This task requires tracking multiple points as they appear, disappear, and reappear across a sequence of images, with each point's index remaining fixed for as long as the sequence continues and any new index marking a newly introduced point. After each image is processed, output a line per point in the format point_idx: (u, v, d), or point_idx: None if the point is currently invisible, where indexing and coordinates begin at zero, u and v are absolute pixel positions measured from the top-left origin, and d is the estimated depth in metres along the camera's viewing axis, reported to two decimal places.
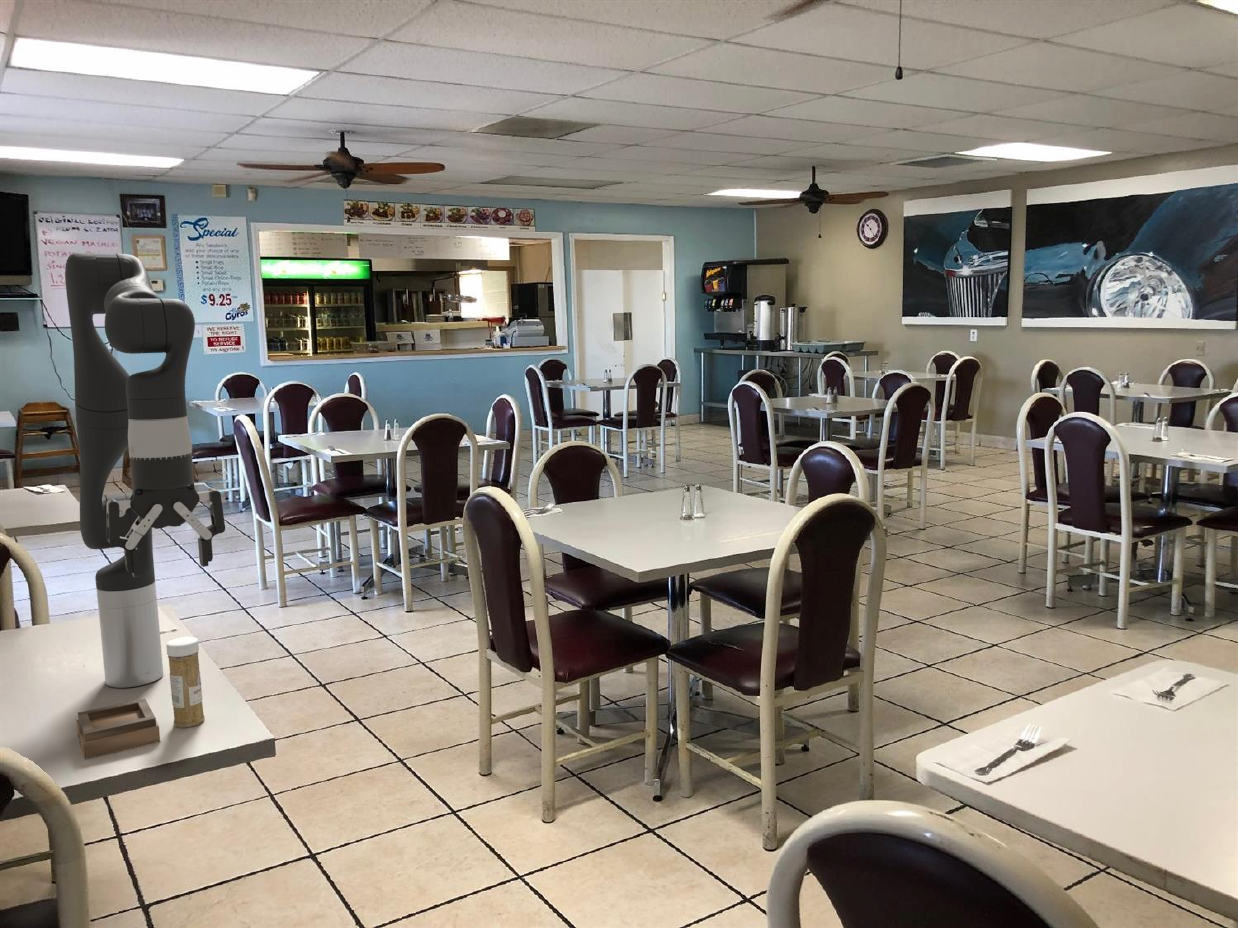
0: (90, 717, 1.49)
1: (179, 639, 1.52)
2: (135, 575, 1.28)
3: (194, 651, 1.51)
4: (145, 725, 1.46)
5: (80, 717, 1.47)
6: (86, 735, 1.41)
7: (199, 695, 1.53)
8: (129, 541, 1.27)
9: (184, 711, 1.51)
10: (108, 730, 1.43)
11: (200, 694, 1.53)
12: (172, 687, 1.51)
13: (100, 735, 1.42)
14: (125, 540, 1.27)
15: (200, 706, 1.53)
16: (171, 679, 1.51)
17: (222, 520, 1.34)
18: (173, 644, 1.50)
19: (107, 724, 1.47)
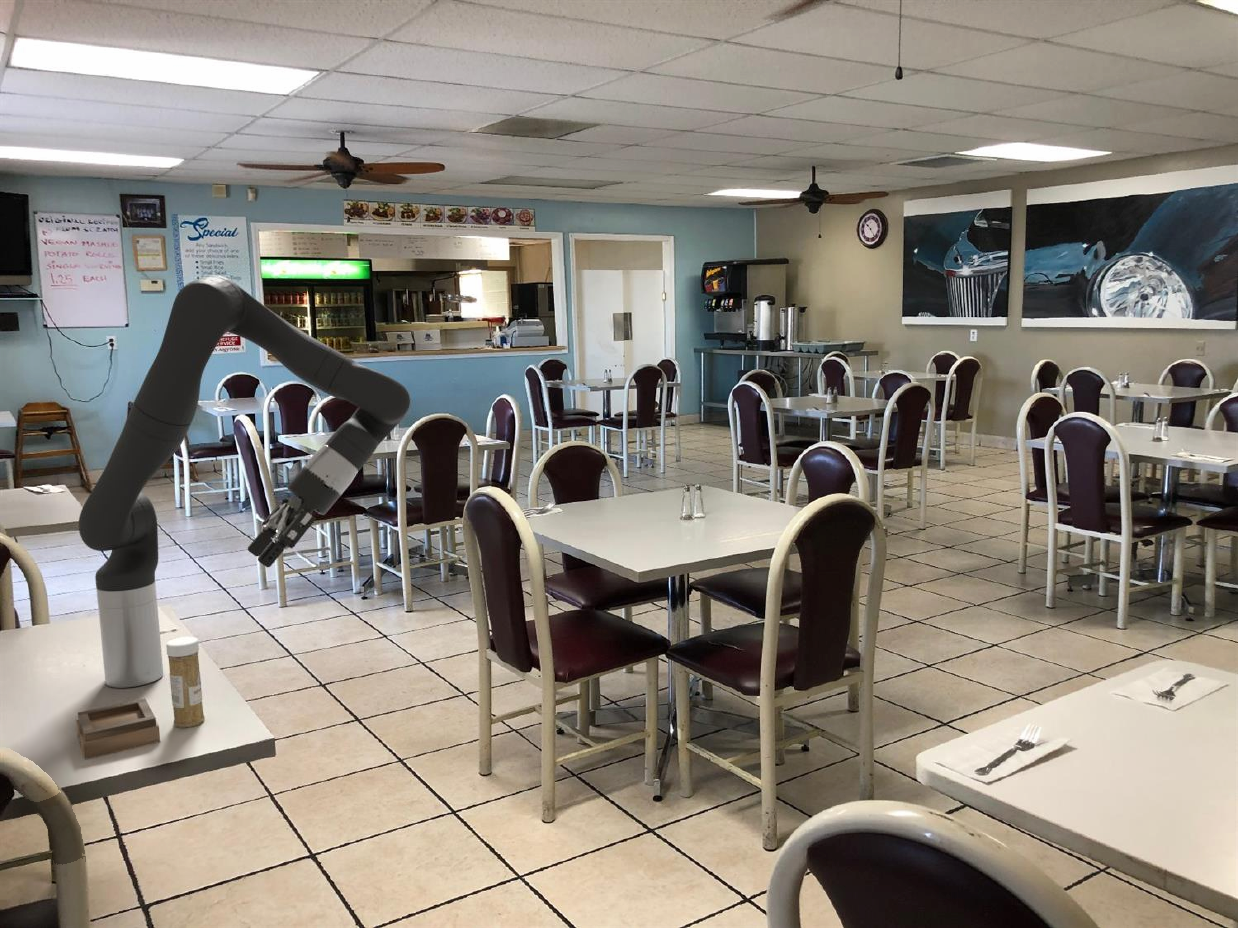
0: (90, 717, 1.49)
1: (179, 639, 1.52)
2: (269, 566, 1.53)
3: (194, 651, 1.51)
4: (145, 725, 1.46)
5: (80, 717, 1.47)
6: (86, 735, 1.41)
7: (199, 695, 1.53)
8: None
9: (184, 711, 1.51)
10: (108, 730, 1.43)
11: (200, 694, 1.53)
12: (172, 687, 1.51)
13: (100, 735, 1.42)
14: None
15: (200, 706, 1.53)
16: (171, 679, 1.51)
17: None
18: (173, 644, 1.50)
19: (107, 724, 1.47)
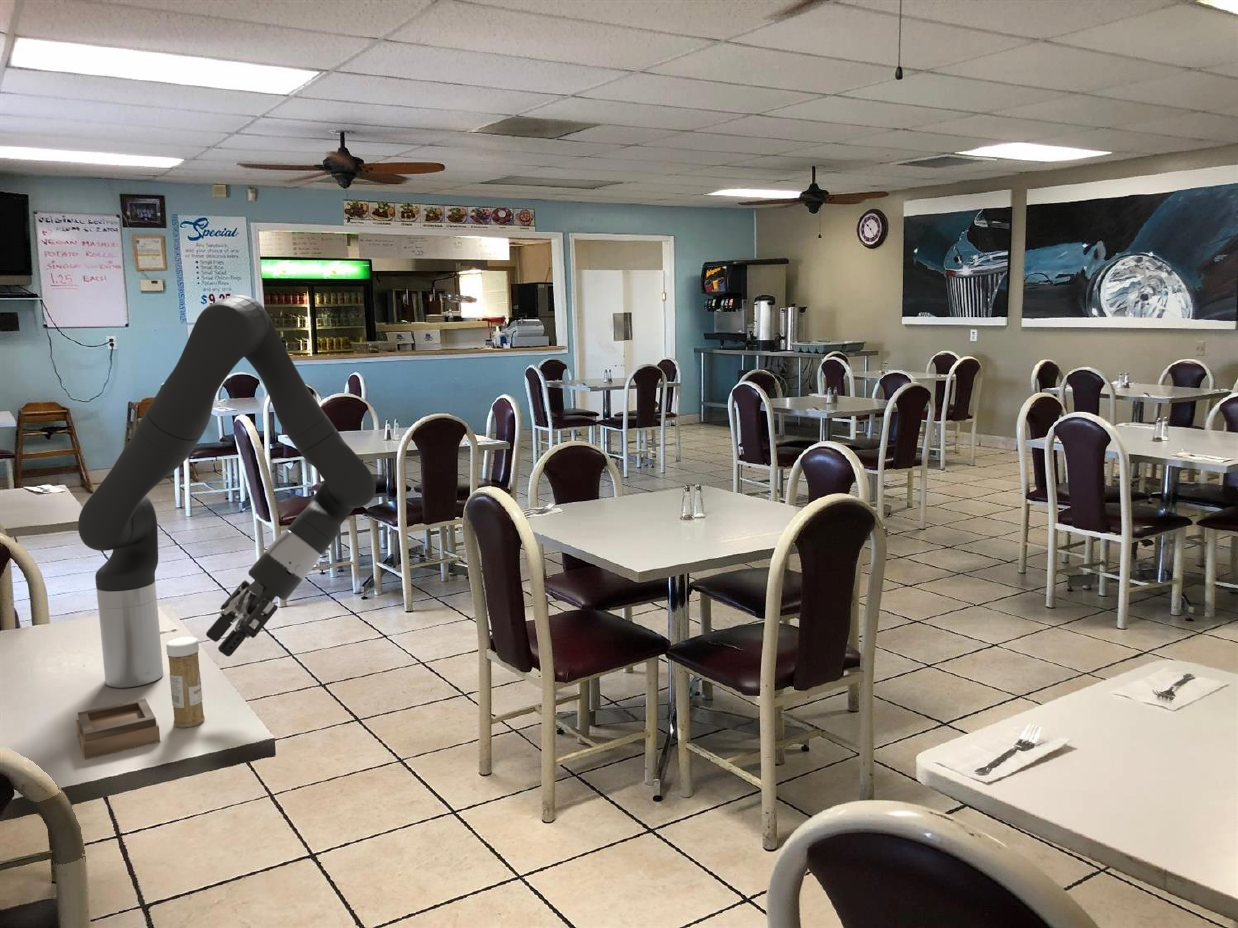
0: (90, 717, 1.49)
1: (179, 639, 1.52)
2: (229, 655, 1.52)
3: (194, 651, 1.51)
4: (145, 725, 1.46)
5: (80, 717, 1.47)
6: (86, 735, 1.41)
7: (199, 695, 1.53)
8: None
9: (184, 711, 1.51)
10: (108, 730, 1.43)
11: (200, 694, 1.53)
12: (172, 687, 1.51)
13: (100, 735, 1.42)
14: None
15: (200, 706, 1.53)
16: (171, 679, 1.51)
17: None
18: (173, 644, 1.50)
19: (107, 724, 1.47)
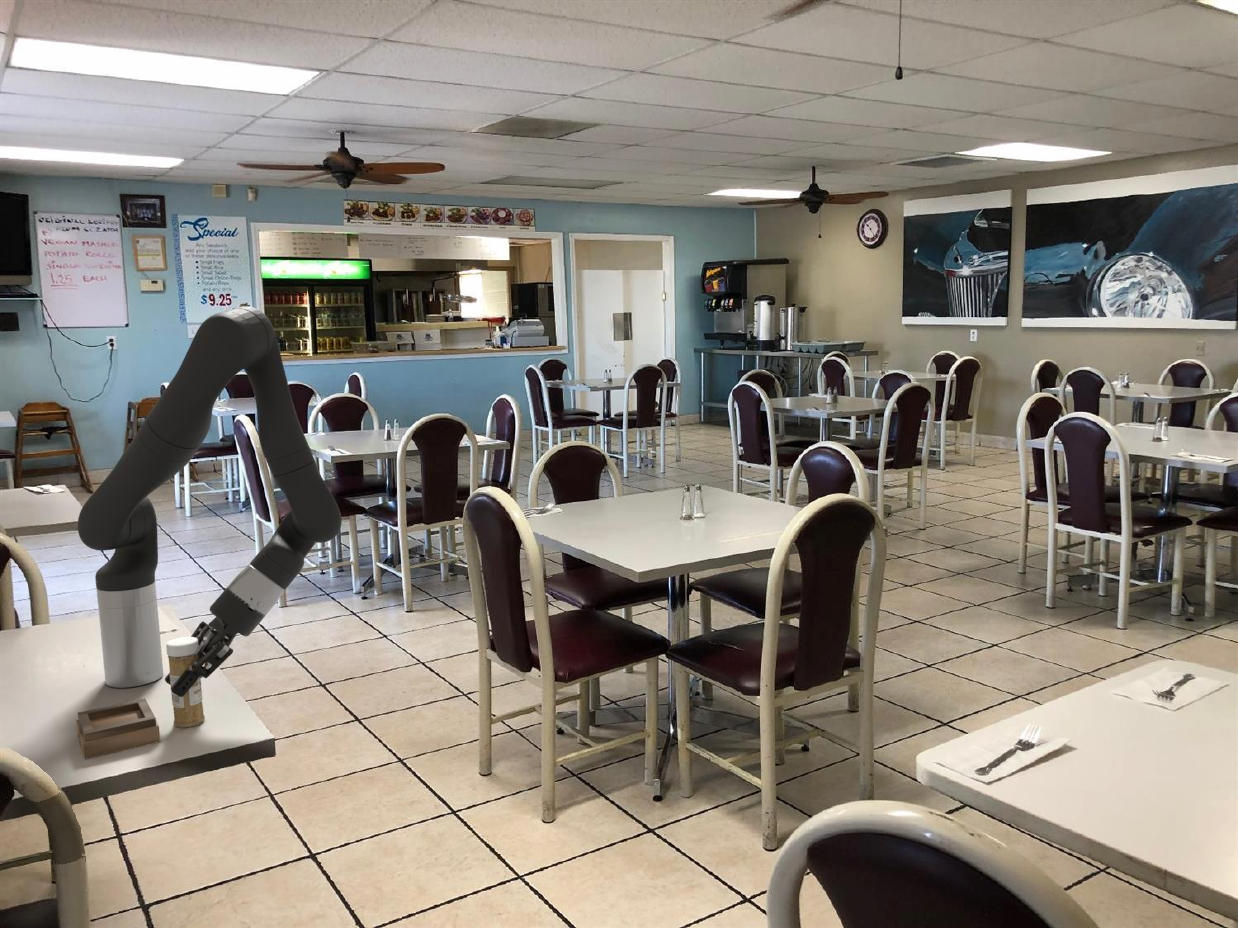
0: (90, 717, 1.49)
1: (179, 639, 1.52)
2: (182, 696, 1.50)
3: (194, 651, 1.51)
4: (145, 725, 1.46)
5: (80, 717, 1.47)
6: (86, 735, 1.41)
7: (199, 695, 1.53)
8: None
9: (184, 711, 1.51)
10: (108, 730, 1.43)
11: (200, 694, 1.53)
12: None
13: (100, 735, 1.42)
14: None
15: (200, 706, 1.53)
16: (171, 679, 1.51)
17: None
18: (173, 644, 1.50)
19: (107, 724, 1.47)
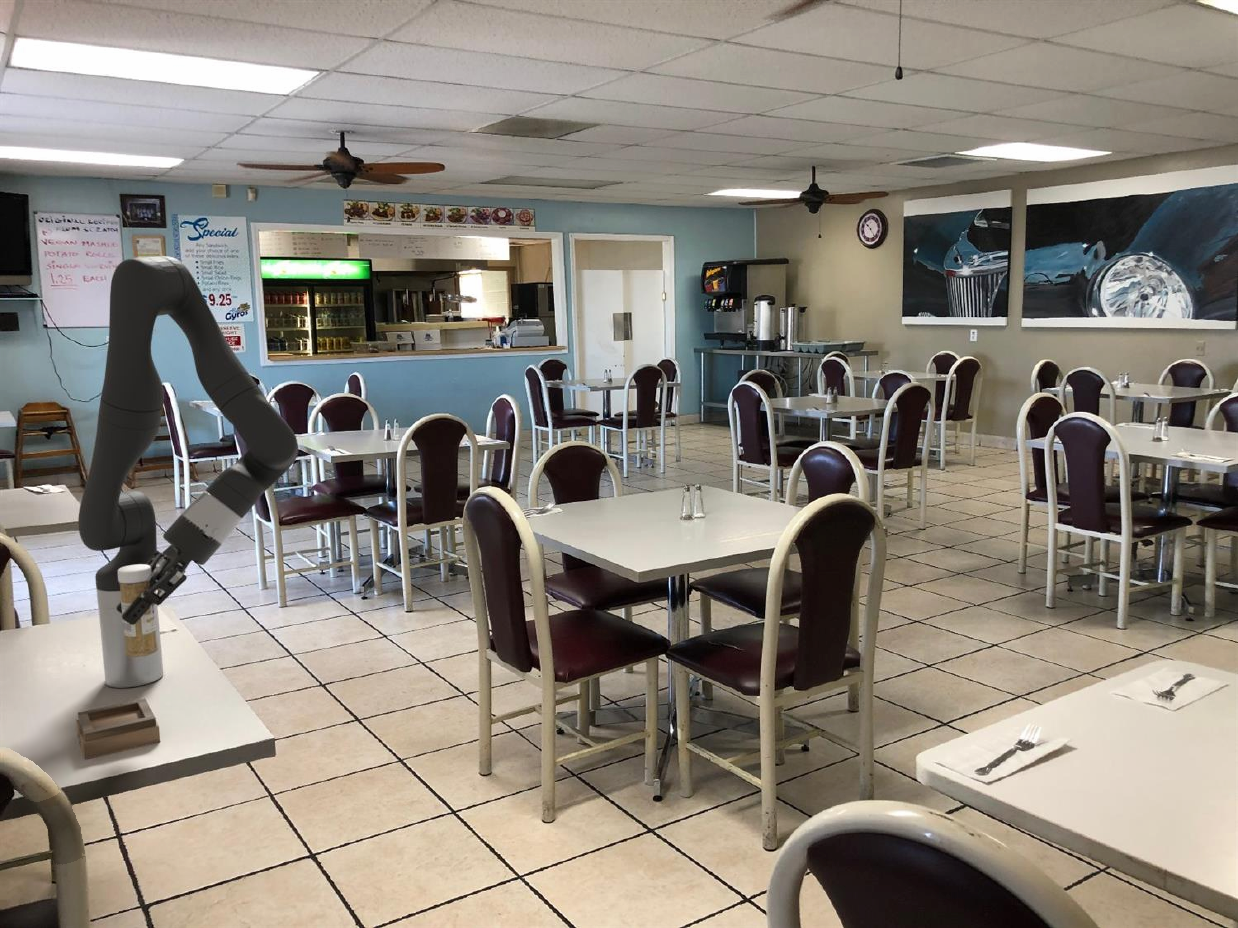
0: (90, 717, 1.49)
1: (131, 566, 1.47)
2: (133, 624, 1.45)
3: (146, 578, 1.46)
4: (145, 725, 1.46)
5: (80, 717, 1.47)
6: (86, 735, 1.41)
7: (152, 624, 1.48)
8: None
9: (136, 640, 1.46)
10: (108, 730, 1.43)
11: (154, 623, 1.48)
12: None
13: (100, 735, 1.42)
14: None
15: (153, 636, 1.48)
16: (122, 607, 1.46)
17: None
18: (125, 570, 1.45)
19: (107, 724, 1.47)
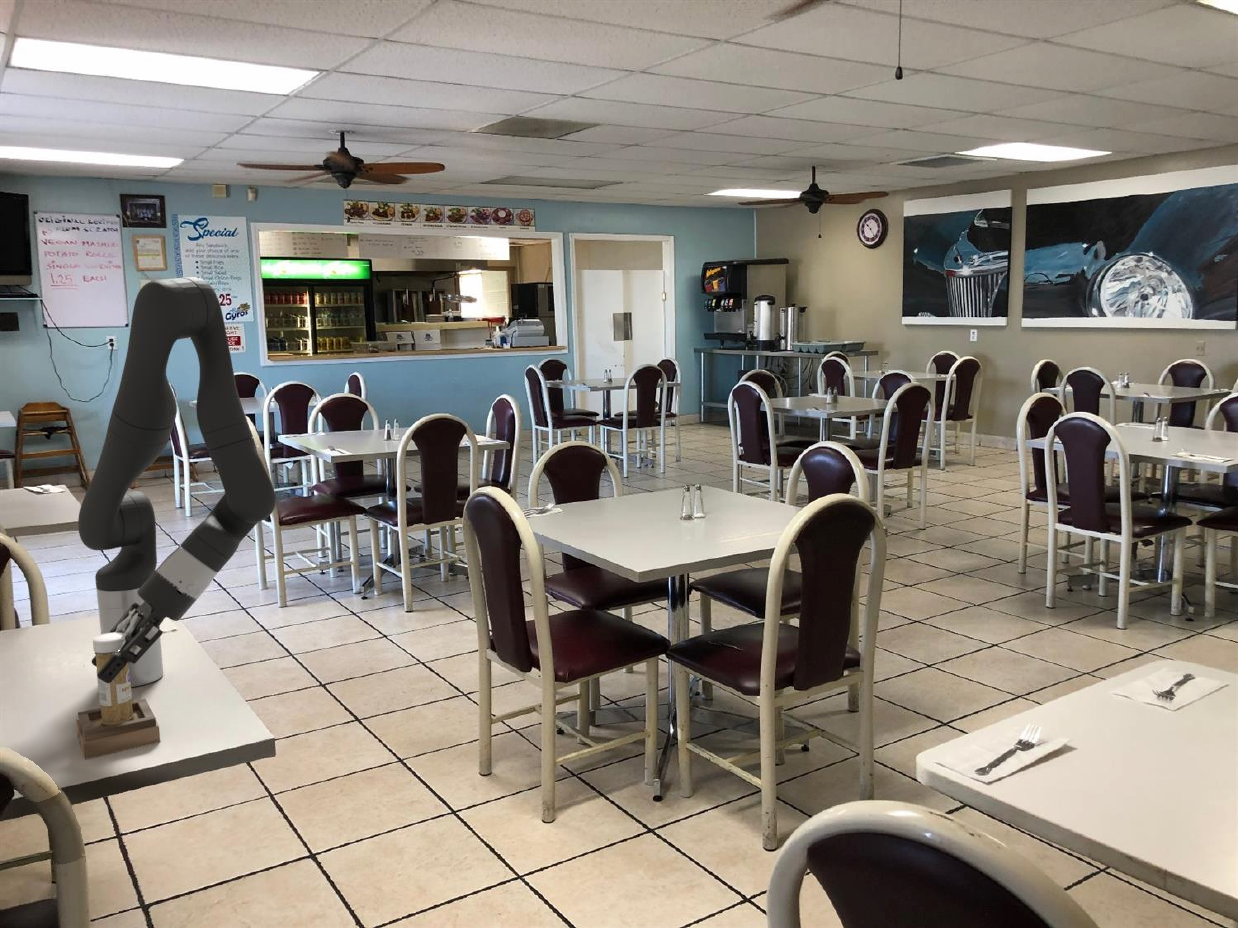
0: (90, 717, 1.49)
1: (107, 635, 1.47)
2: (109, 682, 1.43)
3: None
4: (145, 725, 1.46)
5: (80, 717, 1.47)
6: (86, 735, 1.41)
7: (128, 693, 1.47)
8: None
9: (111, 709, 1.46)
10: (108, 730, 1.43)
11: (129, 692, 1.48)
12: (98, 684, 1.46)
13: (100, 735, 1.42)
14: None
15: (129, 704, 1.48)
16: None
17: None
18: (100, 640, 1.45)
19: None
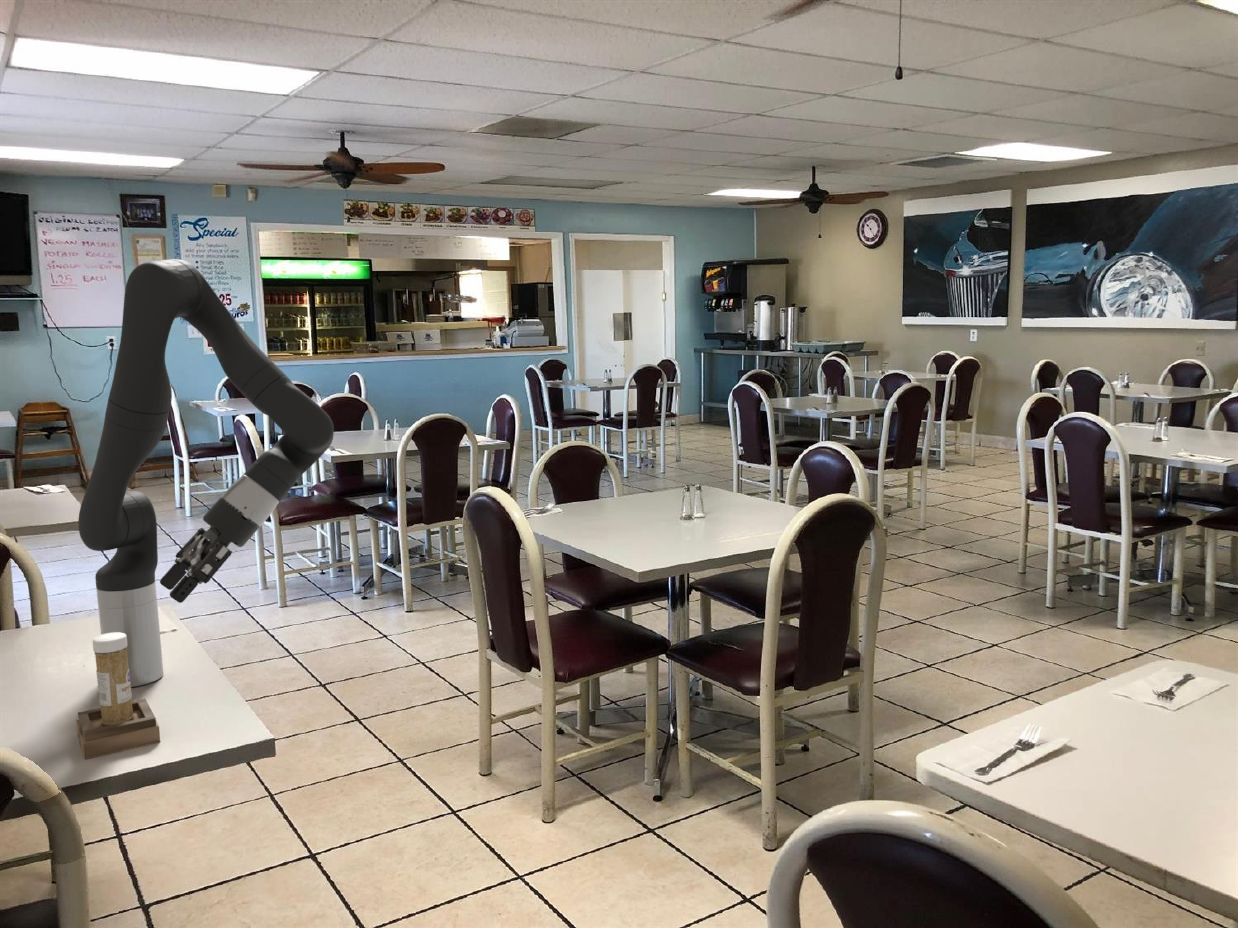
0: (90, 717, 1.49)
1: (106, 635, 1.47)
2: (181, 602, 1.47)
3: (122, 647, 1.46)
4: (145, 725, 1.46)
5: (80, 717, 1.47)
6: (86, 735, 1.41)
7: (128, 693, 1.47)
8: None
9: (111, 709, 1.46)
10: (108, 730, 1.43)
11: (129, 692, 1.48)
12: (98, 684, 1.46)
13: (100, 735, 1.42)
14: None
15: (129, 704, 1.48)
16: (98, 676, 1.46)
17: None
18: (100, 640, 1.45)
19: None
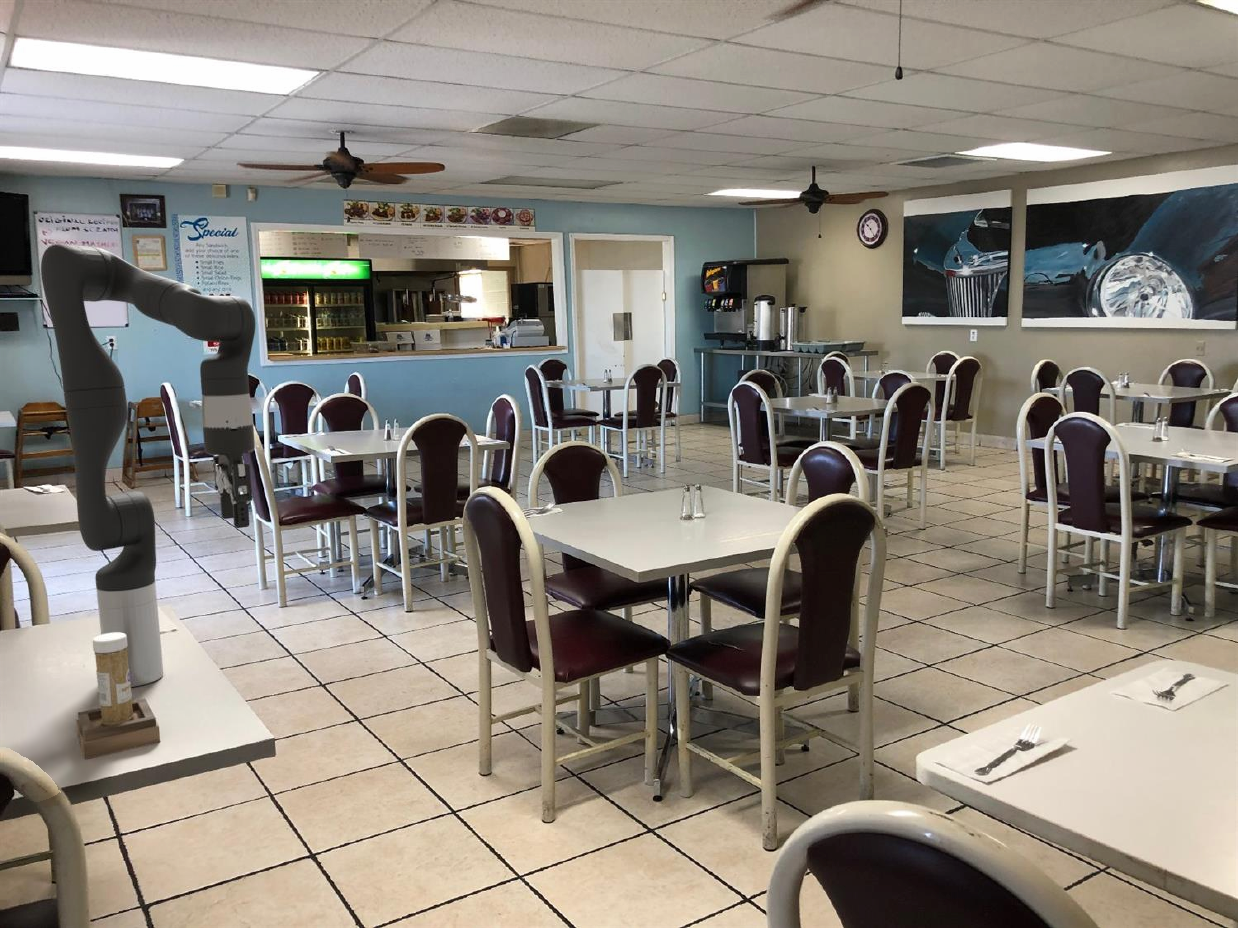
0: (90, 717, 1.49)
1: (106, 635, 1.47)
2: (248, 524, 1.55)
3: (122, 647, 1.46)
4: (145, 725, 1.46)
5: (80, 717, 1.47)
6: (86, 735, 1.41)
7: (128, 693, 1.47)
8: None
9: (111, 709, 1.46)
10: (108, 730, 1.43)
11: (129, 692, 1.48)
12: (98, 684, 1.46)
13: (100, 735, 1.42)
14: None
15: (129, 704, 1.48)
16: (98, 676, 1.45)
17: None
18: (100, 640, 1.45)
19: None
